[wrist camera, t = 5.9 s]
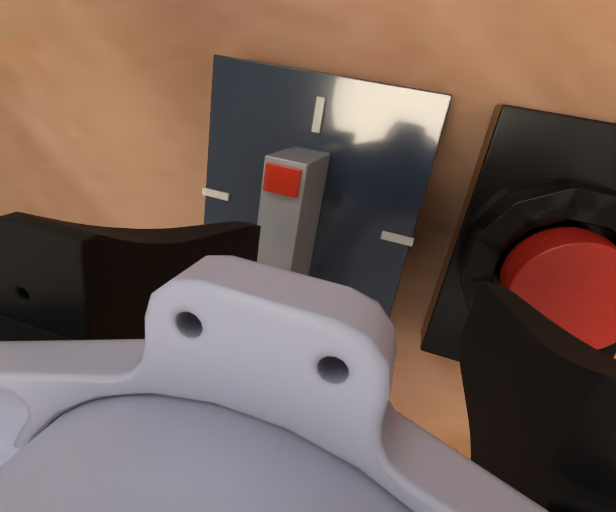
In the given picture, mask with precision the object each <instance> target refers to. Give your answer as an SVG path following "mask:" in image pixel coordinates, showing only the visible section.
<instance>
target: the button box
mask: <svg viewBox="0 0 616 512" xmlns="http://www.w3.org/2000/svg"><path fill="white" fill-rule="evenodd" d="M566 226H567V227H579V228H584V229H588V230H591V231H593V232H596V233H598V234H600V235H602V236H603V237H605V238H606V239H608V240H609V241H610V242H612V243H613V244H614V245H616V123H610V122H604V121H598V120H592V119H587V118H581V117H575V116H569V115H563V114H557V113H551V112H545V111H540V110H534V109H528V108H522V107H516V106H510V105H496V107H495V110H494V113H493V116H492V119H491V122H490V125H489V128H488V131H487V134H486V137H485V140H484V143H483V146H482V149H481V152H480V155H479V158H478V161H477V164H476V167H475V170H474V173H473V176H472V179H471V182H470V185H469V188H468V191H467V194H466V198H465V201H464V204H463V207H462V210H461V213H460V216H459V219H458V222H457V225H456V228H455V231H454V234H453V237H452V240H451V243H450V246H449V249H448V252H447V255H446V258H445V261H444V264H443V267H442V270H441V273H440V276H439V279H438V282H437V285H436V288H435V291H434V294H433V297H432V300H431V303H430V306H429V309H428V312H427V316H426V319H425V322H424V325H423V328H422V331H421V350H422V351H426V352H429V353H432V354H436V355H439V356H442V357H446V358H449V359H452V360H456V361H459V362H460V336H461V333H462V330H463V328H464V325H465V322H466V319H467V317H468V314H469V311H470V309H471V306H472V303H473V300H474V298H475V295H476V292H477V290H478V287H479V284H480V281H481V280H482V281H486V282H490V283H494V284H498V285H499V277H500V271H501V268H502V265H503V263H504V261H505V259H506V257H507V256H508V254H509V253H510V252H511V250H512V249H513V248H514V247H515V246H516V245H517V244H518V243H520V242H521V241H522V240H524V239H525V238H527V237H529V236H531V235H532V234H535V233H537V232H539V231H542V230H546V229H549V228H555V227H566ZM598 350H599V351H601V352H602V353H604V354H606V355H608V356H610V357H612V358H613V357H614V355H615V353H616V343H614V344H612V345H609V346H607V347H604V348H601V349H598Z"/></svg>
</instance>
